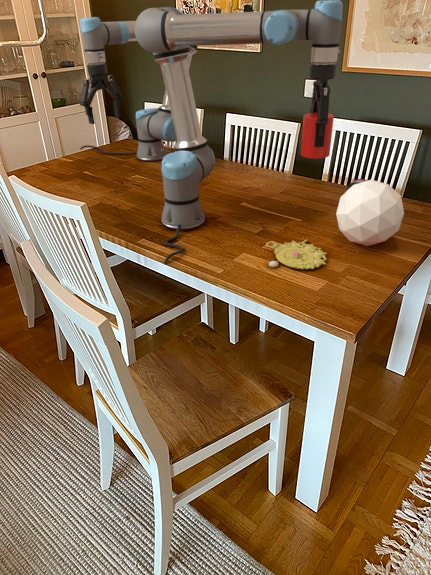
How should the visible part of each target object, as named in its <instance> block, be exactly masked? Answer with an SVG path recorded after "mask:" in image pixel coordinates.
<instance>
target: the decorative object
mask: <svg viewBox="0 0 431 575" xmlns="http://www.w3.org/2000/svg"><path fill="white" fill-rule="evenodd" d="M307 242H308V239H307V238H306V239H305V240H303V241H301V242H296V241H295V240H291V242H284V243H279V242H278V243H277V242H276V241H272V240H271V241H267V242H266V243H265V246H266V247H267V248H269V249H270V248H271V249H272V250H273V255H275V257H276V259H277V260H276V261H275V260H271V261H269V262H268V267H270V268H278V267H279V264H280V263H281V264H283V265H285V266H286V267H289V268H293V269H297V270H298V269H299V270H314V269H316V268H320V267H321V266H322V265H326V263H327V262H325V261H327V260H328V258H327V257H326V255H327V254H328V253H327V251H325V252H324V251H323V250H322V248H321V247H317V246H316V245H315V244H314V243H311V244H308V243H307ZM270 244H272V245H270ZM322 258H323V259H322Z"/></svg>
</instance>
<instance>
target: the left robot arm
mask: <svg viewBox="0 0 431 575" xmlns="http://www.w3.org/2000/svg"><path fill="white" fill-rule="evenodd" d="M183 14H184V15H192V14H193V13H183ZM135 23H136V20H120V21H101V19H100V17H98V16H92V17H91V16H90V17H89V16H88V17H87V16H86V17H81V18H80V20H79V26H80V33H81V39H82V44H83V49H84V57H85V63H86V64H87V65H86V69H87V75H88V77H89V79H88V78H83V79H82V90H81V95H80V100H79V106H82V107H84V110H85V115H86V116H87V119H88V124H90V125H95V124H96V123H95V117H94V111H93V110H94V109H93V106H91V105H92V102H93V100H94V98H95V95H96V93H97V92H98V91H101V90H105V91H106V92H107V93H108V94H109V95H110V97H111V98H112V99H113V101H112V105H113V112H114V117H115V118H117V119H121V101H122V99H124V96H123V93H122V92H121V89H120V88H119V86H118V84H117V82H116V79H115V76H114V75H113V74H108V66H107V64H106V62H107V60H106V51H105V46H110V45H113V46H115V45H123V44H127V43H129V42H138V41H137V38H136V35H135ZM198 47H199V46H189V50H190V54H189V56H188V58H187V64H188V70H189V71H190V67H191V63H192V58H193V55H194V54H196V53H197V52H198ZM135 124H136V132H137V139H138V146H137V151H131V152H130V151H129V152H112V151H111V152H110V151H103V150H102V149H101V147H100V146H95V145H88V144H87V145H85V144H84V145H82V146H81V147H80V148H79V150H80V151H81V150H83V149H84V148H92V149H97V150H98V151H99V153H101V154H105V155H120V156H121V155H135V154H136V159H137V160H138V161H141V162H158V161H162V160H163V158H164V157H165V156H166V155H167V154H168V153H167V150H166V148H165V145H164V142H168V143H169V142H170V143H174V142H175V143H176V142H177V136H176V131H175V127H174V123H173V118H172V114H171V109H170V105H169V100H168V96H167V91H166V89H165V90H164V95H163V100H162V104H161V105H160V106H159V107H153V108H144V109H140V110H137V111H136V112H135ZM163 141H164V142H163Z"/></svg>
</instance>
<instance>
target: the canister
mask: <svg viewBox="0 0 431 575" xmlns="http://www.w3.org/2000/svg"><path fill="white" fill-rule="evenodd" d="M334 118H335V115H334V114H332V113H329V112H328V124H326V127H325V137H324V146H323V147H314V143H315V132H316V125H315V123H317V112H315V113H310V112H308V113H305V114H303V120H302V130H301V132H302V133H301V144H300V145H301V147H300V156H301V157H303V158H307V159H315V160H317V159H318V160H319V159H325V158H328V157H329V156H330V154H331V144H332V136H333V127H334V121H335V120H334ZM322 120H324V119H322Z"/></svg>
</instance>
